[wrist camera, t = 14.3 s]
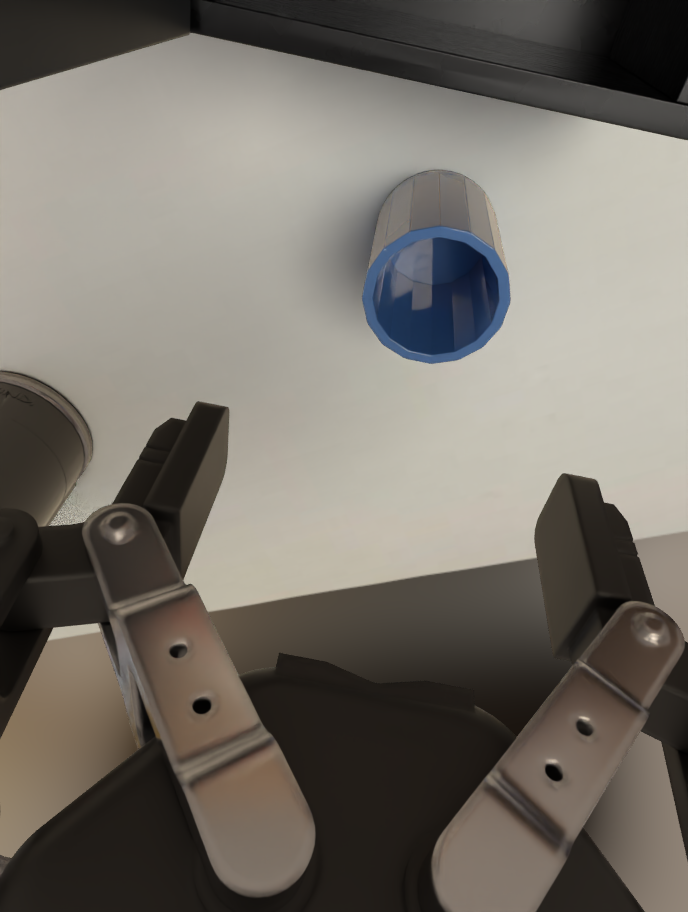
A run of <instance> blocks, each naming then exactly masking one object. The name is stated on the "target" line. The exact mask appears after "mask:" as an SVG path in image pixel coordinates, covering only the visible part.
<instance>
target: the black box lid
mask: <svg viewBox="0 0 688 912" xmlns="http://www.w3.org/2000/svg"><path fill="white" fill-rule="evenodd" d="M189 34H190V0H0V90H2V89H5V88H9V87H12V86H15V85H19V84H22V83H26V82H29V81H33V80H36V79H39V78H43V77H46V76H50V75H53V74H56V73H60V72H63V71H67V70H70V69H74V68H77V67H80V66H84V65H87V64H91V63H94V62H97V61H101V60H104V59H108V58H111V57H114V56H118V55H121V54H125V53H128V52H132V51H135V50H138V49H142V48H145V47H149V46H152V45H155V44H159V43H162V42H166V41H169V40H173V39H176V38H179V37H183V36H186V35H189Z"/></svg>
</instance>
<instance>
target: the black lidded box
mask: <svg viewBox="0 0 688 912" xmlns="http://www.w3.org/2000/svg"><path fill="white" fill-rule="evenodd" d="M190 32H191V33H196V34H200V35H205V36H209V37H214V38H219V39H223V40H228V41H232V42H237V43H242V44H246V45H251V46H255V47H260V48H265V49H269V50H274V51H278V52H283V53H288V54H292V55H297V56H301V57H306V58H311V59H315V60H320V61H325V62H329V63H334V64H338V65H343V66H348V67H352V68H357V69H361V70H366V71H371V72H375V73H380V74H384V75H389V76H394V77H398V78H403V79H407V80H412V81H417V82H421V83H426V84H430V85H435V86H440V87H444V88H449V89H453V90H458V91H463V92H467V93H472V94H477V95H481V96H486V97H490V98H495V99H500V100H504V101H509V102H513V103H518V104H523V105H527V106H532V107H536V108H541V109H546V110H550V111H555V112H559V113H564V114H569V115H573V116H578V117H582V118H587V119H592V120H596V121H601V122H605V123H610V124H615V125H619V126H624V127H629V128H633V129H638V130H642V131H647V132H652V133H656V134H661V135H665V136H670V137H675V138H679V139H684V140H688V0H190Z"/></svg>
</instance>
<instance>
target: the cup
mask: <svg viewBox="0 0 688 912" xmlns="http://www.w3.org/2000/svg"><path fill="white" fill-rule="evenodd" d="M510 300H511V298H510V284H509V273H508V269H507V264H506V260H505V255H504V251H503V246H502V242H501V237H500V233H499V228H498V224H497V220H496V215H495V212H494V210H493V208H492V205H491V203H490V201H489V199H488V197H487V196H486V194H485V192H484V191H483V190H482V189H481V188H480V187H479V186H478V185H477V184H476V183H475V182H474V181H472V180H471V179H469V178H468V177H466V176H463V175H461V174H459V173H455V172H452V171H446V170H433V171H426V172H423V173H419V174H417V175H414V176H412V177H410V178H408V179H407V180H405V181H403V182H402V183H401V184H400V185H398V186H397V187H396V188H395V189H394V190H393V191H392V192H391V194H390V195H389V196H388V198H387V199H386V201H385V203H384V204H383V206H382V209H381V211H380V213H379V217H378V221H377V226H376V231H375V236H374V241H373V246H372V251H371V255H370V260H369V265H368V270H367V275H366V280H365V285H364V290H363V295H362V301H363V305H364V310H365V314H366V319H367V323H368V325H369V326H370V328H371V329H372V330H373V332H374V333H375V335H376V336H377V337H378V339H379V340H380V341H381V343H382V344H383V345H384V346H386V347H388V348H389V349H391V350H392V351H394V352H395V353H397V354H399V355H400V356H402V357H403V358H406V359H410V360H415V361H420V362H425V363H429V364H433V363H441V362H448V361H455V360H459V359H461V358H463V357H465V356H467V355H469V354H471V353H473V352H475V351H477V350H479V349H481V348H482V347H483V346H484V345H485V344H486V343H487V342H488V341H489V340H490V339H491V338H492V337H493V335H494V334H495V333H496V332H497V331H498V330H499V329H500V327H501V326H502V324H503V321H504V318H505V315H506V313H507V310H508V307H509V305H510Z"/></svg>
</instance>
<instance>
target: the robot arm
mask: <svg viewBox="0 0 688 912" xmlns="http://www.w3.org/2000/svg"><path fill="white" fill-rule="evenodd" d="M228 433H229V408H228V407H225V406H220V405H215V404H210V403H204V402H199V401H197V402H196V403H195V405H194V407H193V409H192V411H191V413H190V415H189V417H188V419H187V421H185V420H180V419H175V418H170V419H169V420H167V421H166V422H165V423H163V424H162V425H160V426H159V427H158V428H156V429H155V430H154V432H153V434H152V435H151V437H150V439H149V441H148V442H147V444H146V447H145V448H144V449H143V451H142V453H141V455H140V456H139V460H137V462H136V463H135V465H134V467H133V469H132V470H131V472H130V474H129V475H128V477H127V479H126V481H125V482H124V484H123V486H122V488H121V489H120V491H119V493H118V495H117V496H116V498H115V500H114V502H113V503H112V505H108V506H105V507H102V508H100V509H98V510H97V511H95V512H93V513H92V514H91V515H90V516H89V517H88V518H87V520H86V521H85V522H83V523H78V524H72V525H59V526H49V525H50V523H51V522H52V520H53V519H54V517H55V516H56V514H57V513H58V511H59V510H60V508H61V507H62V505H63V504H64V502H65V501H66V499H67V498H68V496H69V495H70V493H71V492H72V490H73V489H74V487H75V486H76V480H77V479H78V478H79V477H80V476H81V475H82V473H83V472H84V470H85V469H86V467H87V466H88V464H89V462H90V460H91V457H92V450H93V447H92V439H91V435H90V432H89V430H88V428H87V426H86V424H85V422H84V420H83V419H82V417H81V416H80V415H79V413H78V412H77V411H76V410H75V408H74V407H73V406H72V405H71V404H70V403H69V402H68V401H67V400H65V399H64V398H63V397H62V396H61V395H59V394H58V393H57V392H55V391H54V390H52V389H51V388H49V387H47V386H46V385H44V384H42V383H40V382H38V381H36V380H33V379H31V378H28V377H25V376H22V375H18V374H14V373H8V372H0V738H1V736H2V734H3V732H4V730H5V728H6V726H7V723H8V721H9V719H10V717H11V715H12V713H13V711H14V709H15V707H16V705H17V703H18V700H19V698H20V696H21V694H22V692H23V690H24V688H25V686H26V683H27V682H28V680H29V677H30V675H31V673H32V671H33V669H34V667H35V665H36V663H37V661H38V659H39V657H40V654H41V652H42V650H43V648H44V646H45V644H46V642H47V640H48V638H49V636H50V634H51V631H52V629H53V628H54V627H64V626H73V625H83V624H93V623H98V625H99V628H100V631H101V634H102V636H103V639H104V642H105V645H106V648H107V651H108V654H109V657H110V660H111V662H112V666H113V668H114V671H115V674H116V677H117V680H118V683H119V686H120V689H121V692H122V696H123V699H124V703H125V707H126V712H127V715H128V718H129V722H130V725H131V729H132V732H133V735H134V738H135V740H136V744H137V746H138V749H139V750H137V751H136V752H135V753H134V754H132V755H131V756H130V757H129V758H127V759H126V760H125V761H124V762H122V763H121V764H120V765H119V766H117V767H116V768H115V769H114V770H112V771H111V772H110V773H108V774H107V775H106V776H105V777H104V778H102V779H101V780H100V781H98V782H97V783H96V784H95V785H93V786H92V787H91V788H90V789H88V790H87V791H86V792H85V793H83V794H82V795H81V796H79V797H78V798H77V799H76V800H74V801H73V802H72V803H71V804H69V805H68V806H67V807H66V808H64V809H63V810H62V811H61V812H59V813H58V814H57V815H56V816H54V817H53V818H52V819H50V820H49V821H48V822H47V823H46V824H44V825H43V826H42V827H40V828H39V829H38V830H37V831H36V832H35V833H34V834H32V835H31V836H30V837H29V838H28V839H27V840H26V841H25V843H24V844H23V845H22V846H21V847H20V848H19V849H18V851H17V852H16V853H15V854H14V856H13V857H12V858H8V857H4V856H2V855H0V912H644V910H643V909H642V907H641V906H640V905H639V903H638V902H637V900H636V899H635V898H634V896H633V895H632V894H631V892H630V891H629V889H628V888H627V887H626V885H625V884H624V883H623V881H622V880H621V878H620V877H619V876H618V874H617V873H616V872H615V870H614V869H613V868H612V866H611V865H610V863H609V862H608V861H607V859H606V858H605V857H604V855H603V854H602V852H601V851H600V850H599V848H598V847H597V846H596V844H595V843H594V841H593V840H592V839H591V837H590V836H589V835H588V833H587V832H586V831H585V829H584V828H583V826H584V824H585V823H586V821H587V819H588V817H589V816H590V814H591V813H592V811H593V809H594V808H595V806H596V804H597V803H598V801H599V799H600V797H601V796H602V794H603V793H604V791H605V789H606V788H607V786H608V784H609V783H610V781H611V779H612V778H613V776H614V774H615V772H616V771H617V769H618V768H619V766H620V764H621V763H622V761H623V759H624V758H625V756H626V754H627V753H628V751H629V749H630V748H631V746H632V744H633V742H634V741H635V739H636V738H637V736H638V734H639V733H640V731H641V732H643V733H645V734H647V735H649V736H651V737H653V738H655V739H657V740H659V741H661V742H662V747H663V751H664V756H665V760H666V765H667V769H668V774H669V778H670V783H671V788H672V792H673V796H674V801H675V805H676V810H677V815H678V819H679V824H680V828H681V833H682V837H683V842H684V847H685V851H686V855H687V860H688V643H687V642H686V641H685V640H684V637H683V634H682V632H681V630H680V628H679V627H678V625H677V624H676V623H675V621H674V620H673V619H672V618H671V617H670V616H668V615H667V614H666V613H665V612H663V611H662V610H660V609H659V608H657V607H655V605H654V602H653V599H652V596H651V593H650V590H649V587H648V584H647V580H646V577H645V575H644V571H643V568H642V565H641V562H640V559H639V557H637V554H638V553H637V550H636V547H635V544H634V543H633V537H632V534H631V531H630V528H629V525H628V522H627V521H626V519H625V518H624V517H623V516H622V514H621V513H620V512H619V510H618V509H617V508H616V507H615V505H614V504H609V503H604V501H603V498H602V495H601V491H600V488H599V484H598V482H597V481H596V480H595V479H591V478H586V477H581V476H576V475H571V474H565V473H564V474H562V475H561V476H560V477H559V478H558V480H557V482H556V484H555V486H554V488H553V490H552V492H551V494H550V496H549V498H548V500H547V502H546V504H545V506H544V508H543V510H542V512H541V514H540V516H539V518H538V520H537V524H536V528H535V537H534V539H535V548H536V554H537V560H538V567H539V573H540V579H541V585H542V592H543V597H544V603H545V610H546V616H547V623H548V629H549V634H550V641H551V647H552V654H553V658H557V659H562V660H567V661H571V662H572V667H571V668H570V670H569V671H568V672H567V674H566V675H565V676H564V678H563V679H562V680H561V682H560V683H559V684H558V685H557V687H556V688H555V689H554V690H553V692H552V693H551V694H550V696H549V697H548V698H547V700H546V701H545V702H544V703H543V705H542V706H541V707H540V708H539V710H538V711H537V712H536V714H535V715H534V716H533V717H532V719H531V720H530V721H529V723H528V724H527V725H526V726H525V728H524V729H523V730H522V732H521V733H520V734H519V735H518V737H516V736H515V735H514V734H513V733H512V732H511V731H510V730H509V729H508V728H507V727H506V726H505V725H503V723H501V722H500V721H499V720H497V719H496V718H495V717H493V716H492V715H490V714H489V713H487V712H485V711H484V710H482V709H480V708H478V707H476V706H475V705H474V690H472V689H467V688H461V687H456V686H451V685H445V684H441V683H435V682H430V681H413V682H396V683H374V682H371V681H369V680H366V679H364V678H362V677H359V676H357V675H355V674H353V673H350V672H348V671H346V670H344V669H341V668H339V667H337V666H335V665H333V664H330V663H328V662H325V661H319V660H314V659H309V658H303V657H298V656H293V655H287V654H282V653H279V656H278V660H277V665H276V667H274V668H264V669H258V670H254V671H250V672H247V673H244V674H241V675H238V673H237V671H236V670H235V667H234V665H233V663H232V661H231V659H230V657H229V655H228V653H227V651H226V649H225V647H224V644H223V643H222V641H221V638H220V636H219V634H218V632H217V630H216V628H215V626H214V624H213V622H212V620H211V618H210V616H209V614H208V612H207V610H206V608H205V606H204V603H203V601H202V599H201V597H200V595H199V593H198V591H197V590H196V588H195V587H194V586H193V585H192V584H188V585H186V584H185V583H184V581H183V579H184V577H185V574H186V572H187V569H188V566H189V564H190V561H191V559H192V556H193V554H194V551H195V549H196V546H197V544H198V541H199V539H200V536H201V534H202V531H203V528H204V526H205V523H206V521H207V518H208V516H209V513H210V511H211V508H212V506H213V503H214V501H215V498H216V496H217V493H218V491H219V488H220V485H221V483H222V480H223V477H224V473H225V469H226V464H227V455H228Z"/></svg>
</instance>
